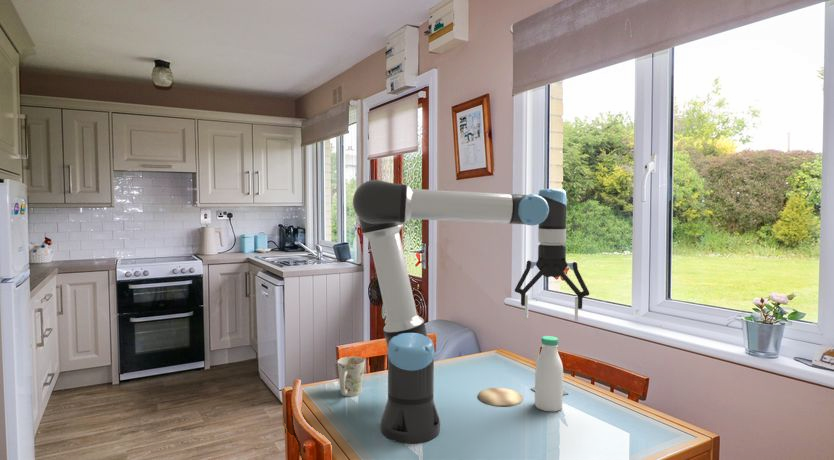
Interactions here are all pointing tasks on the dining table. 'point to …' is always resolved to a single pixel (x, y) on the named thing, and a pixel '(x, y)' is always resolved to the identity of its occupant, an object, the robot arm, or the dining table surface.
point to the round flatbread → (500, 397)
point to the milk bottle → (549, 376)
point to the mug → (351, 375)
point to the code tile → (563, 391)
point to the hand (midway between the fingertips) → (550, 318)
